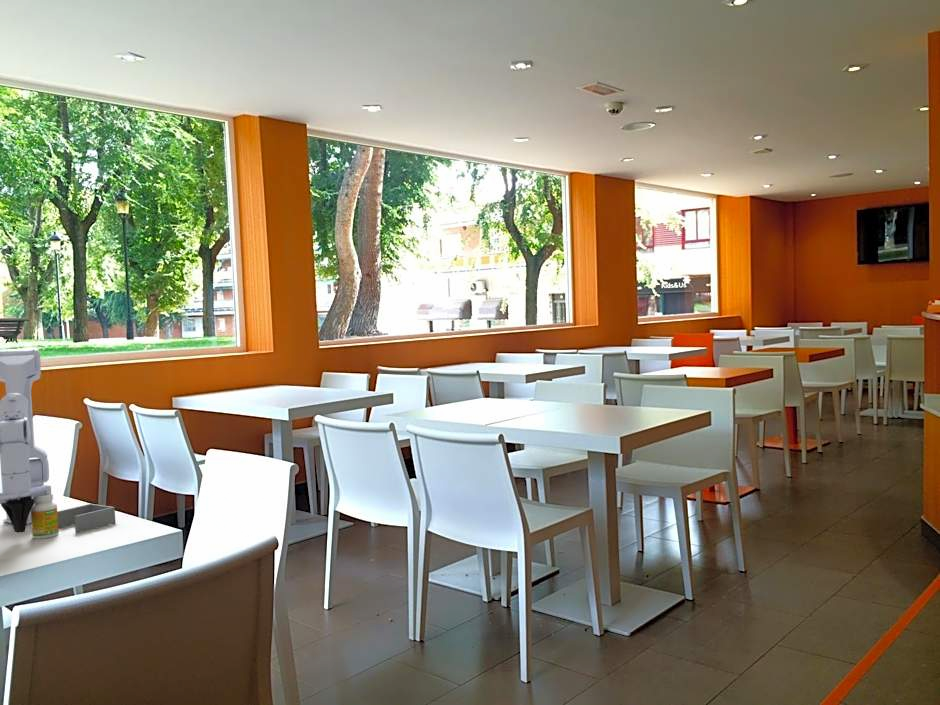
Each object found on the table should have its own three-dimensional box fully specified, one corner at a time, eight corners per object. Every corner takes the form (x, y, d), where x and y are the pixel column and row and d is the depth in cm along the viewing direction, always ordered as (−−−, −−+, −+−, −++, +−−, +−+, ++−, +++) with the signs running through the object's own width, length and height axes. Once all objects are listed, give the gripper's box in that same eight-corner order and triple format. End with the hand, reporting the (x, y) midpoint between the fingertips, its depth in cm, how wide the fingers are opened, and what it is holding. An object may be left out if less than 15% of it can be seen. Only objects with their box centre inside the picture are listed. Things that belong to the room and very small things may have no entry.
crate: (53, 528, 193) (52, 512, 193) (92, 519, 201) (91, 503, 201) (76, 533, 188) (75, 516, 187) (115, 523, 196) (114, 507, 196)
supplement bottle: (47, 539, 183) (44, 497, 183) (27, 539, 184) (24, 497, 184) (63, 533, 188) (61, 492, 188) (44, 532, 190) (41, 492, 189)
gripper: (-9, 479, 173) (-5, 541, 173) (56, 467, 185) (60, 525, 185) (-26, 477, 176) (-21, 538, 177) (40, 465, 189) (44, 522, 189)
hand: (19, 531), depth 181 cm, fingers closed
